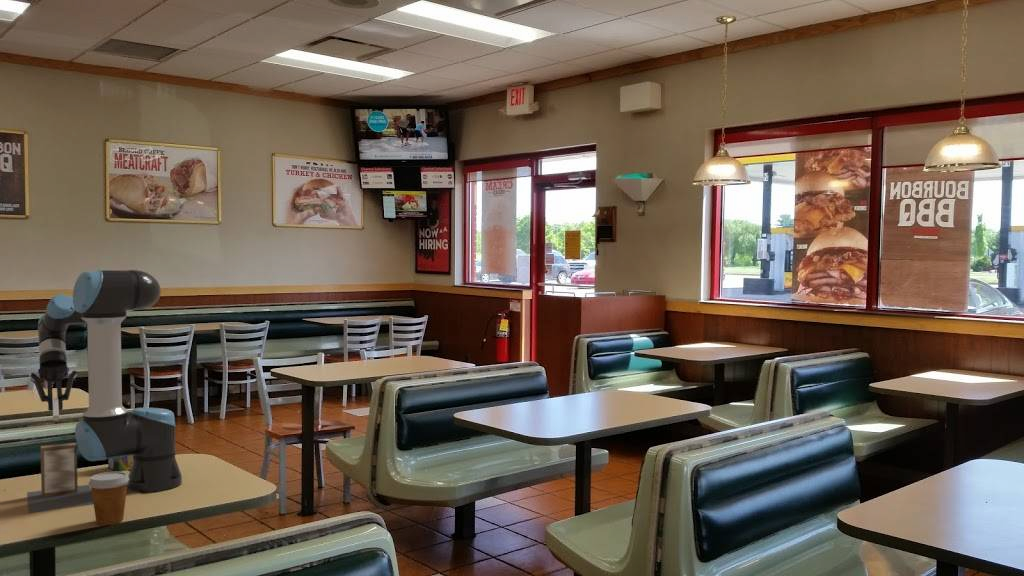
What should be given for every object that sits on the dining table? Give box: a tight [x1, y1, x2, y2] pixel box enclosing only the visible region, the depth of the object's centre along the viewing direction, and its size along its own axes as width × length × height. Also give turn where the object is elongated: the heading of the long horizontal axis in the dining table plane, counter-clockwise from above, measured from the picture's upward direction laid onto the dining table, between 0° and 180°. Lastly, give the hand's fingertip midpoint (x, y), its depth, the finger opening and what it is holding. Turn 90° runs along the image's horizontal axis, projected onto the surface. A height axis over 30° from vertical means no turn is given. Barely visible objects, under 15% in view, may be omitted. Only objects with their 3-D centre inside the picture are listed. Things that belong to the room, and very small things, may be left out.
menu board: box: [40, 442, 79, 497], centre depth 240 cm, size 9×3×14 cm, turn 121°
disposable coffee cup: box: [88, 471, 129, 526], centre depth 217 cm, size 10×10×12 cm
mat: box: [26, 484, 94, 514], centre depth 236 cm, size 16×22×1 cm
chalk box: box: [107, 455, 133, 472], centre depth 270 cm, size 9×9×15 cm
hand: (56, 418), depth 251 cm, fingers closed
